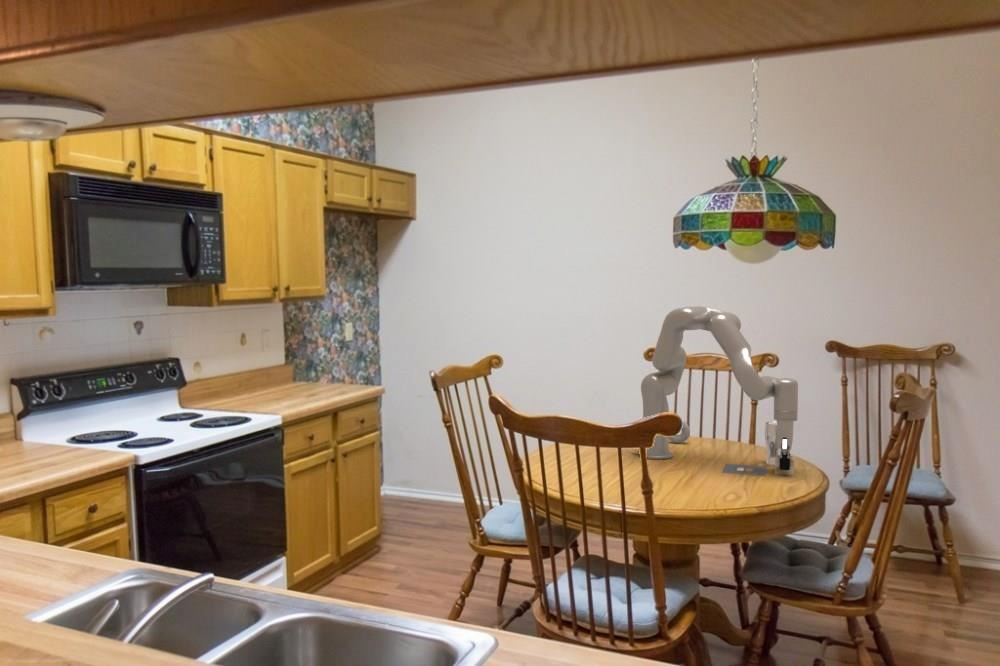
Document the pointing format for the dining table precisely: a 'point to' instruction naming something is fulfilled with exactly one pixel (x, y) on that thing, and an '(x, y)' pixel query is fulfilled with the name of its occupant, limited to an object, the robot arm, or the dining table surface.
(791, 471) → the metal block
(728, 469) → the gray mat
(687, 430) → the donut
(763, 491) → the dining table surface
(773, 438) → the beer glass
